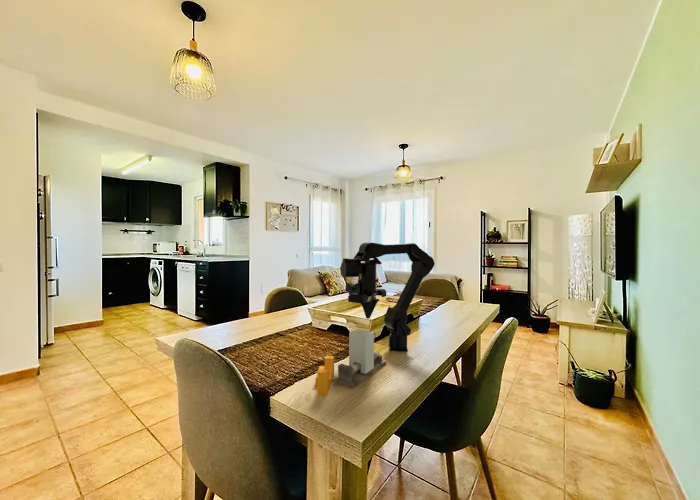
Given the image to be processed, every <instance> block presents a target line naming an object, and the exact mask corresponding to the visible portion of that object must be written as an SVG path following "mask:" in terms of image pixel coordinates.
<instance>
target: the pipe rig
mask: <svg viewBox="0 0 700 500" xmlns="http://www.w3.org/2000/svg"><path fill="white" fill-rule="evenodd" d="M337 365H338V366H337V377H336V378H334V383H335V384H337V385H339V386H343V387H346V388H348V389H352V390H353V389H355V388H356V387H357V386H359V384H361V383H362V382H364V381H365V380H367V379H368V378H370V377H371V376H372V375H373V374H374V373H377V372H378V371H379V370H380V369H381V368H383V367H384V366H386V365H387V360H385V359H383V355H381V354H380V352H379V351H377V350H376V351H374V368H373V369H372V370H371V371H369V372H368V373H366V374H364V373H361V364H360V363H356V364H355V365H353V366H349V364H344V363H339V364H337Z"/></svg>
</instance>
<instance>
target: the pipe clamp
mask: <svg viewBox="0 0 700 500" xmlns="http://www.w3.org/2000/svg"><path fill="white" fill-rule="evenodd" d="M316 373H317V374H316V376H315V387H316V386H317V392H316V393H317V394H316V396H317V397H328V395H329V393H330V390H331V387H332V383H333V381H334V379H335V356H334V355H325V357H324V365H320V366H319V368H318V370H317V372H316Z"/></svg>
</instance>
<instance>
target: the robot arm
mask: <svg viewBox="0 0 700 500" xmlns="http://www.w3.org/2000/svg"><path fill="white" fill-rule="evenodd" d="M398 254H399V255H401V254H406V255H407V256H408V259H409V260H410V262H412V263H411V266H410V267H411V269H410V270H411V271H410V272H411V273H410V275H409V278H408V280H407V281H406V283H405V285H404V287H403V289H402V292H401V294H400V296H399V297H398V300H397V301H396V304H395V305H394V306H392V307H391V306H388V307H387V310H386V313H384V314H383V316H384V318H383V322H384V323H383V324H384V325H385V326H386V328H387V331H390V333H389V334H388V348H389V349H390V351H391V352H408V351H409V349H408V336H409V335H411V331H412V329H411V327H409V326H408V324H407V321H408V310H409V307H410V306H411V303H412V301H413V299H414V298H415V295H416V294H417V292H418V289H419V287H420V285H421V284H422V281H423V279H424V278H426V276H428V275H429V274H430V272H431V271H432V270H433V268H434V267H435V263H436V262H435V260H434V258H433V257H432V256H431V255H429V254H428V253H427V252H426V251H424V250H423V249H421V248H420V247H419V245H417V244H416V243H414V242H407V243H403V244H402V243H399V244H398V243H397V244H395V243H393V244H382V243H378V242H363V243H361V244H360V245H359V247H358V251H357V252H356V253H355V256H353V258H348V257H347V258H344V257H343V258H342V262H341V264H340V267H339V272H340V276H341V277H342V278H357V277H359V276H360V278H358V279H357V282H356V283H354V284H353V282H348V283H345V287H344V288H345V290H344V291H345V292H346V293H348V296H347V302H348V303H355V304H360V305H361V306H362V309H363V312H364V315H365V318H366V320H368V319H370V318H371V317H372V315H373V313H374V310H375V308H376V306H377V304H378V302H379V301H380V298H377V296H380V297H381V298H386V297H387V290H386V289H385V288H377V283H378V282H379V279H378V278H377V265H381V264H382V263H383V262H381V260H380V259H379V258H380V257H382V256H386V255H398Z"/></svg>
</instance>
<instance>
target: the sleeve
mask: <svg viewBox="0 0 700 500" xmlns="http://www.w3.org/2000/svg"><path fill="white" fill-rule="evenodd" d="M348 335H349V336H348V339H349V340H348V347H349V348H348V366H353V365H355V364H356V363H360V364H361V373H364V374H366V373H368V372H369V371H371V370H372V369H373V368H374V352H375V332H374V331H370V330H365V329H364V330H363V329H359V328H357V329H355V330H353V331H351V332H349V334H348Z"/></svg>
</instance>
